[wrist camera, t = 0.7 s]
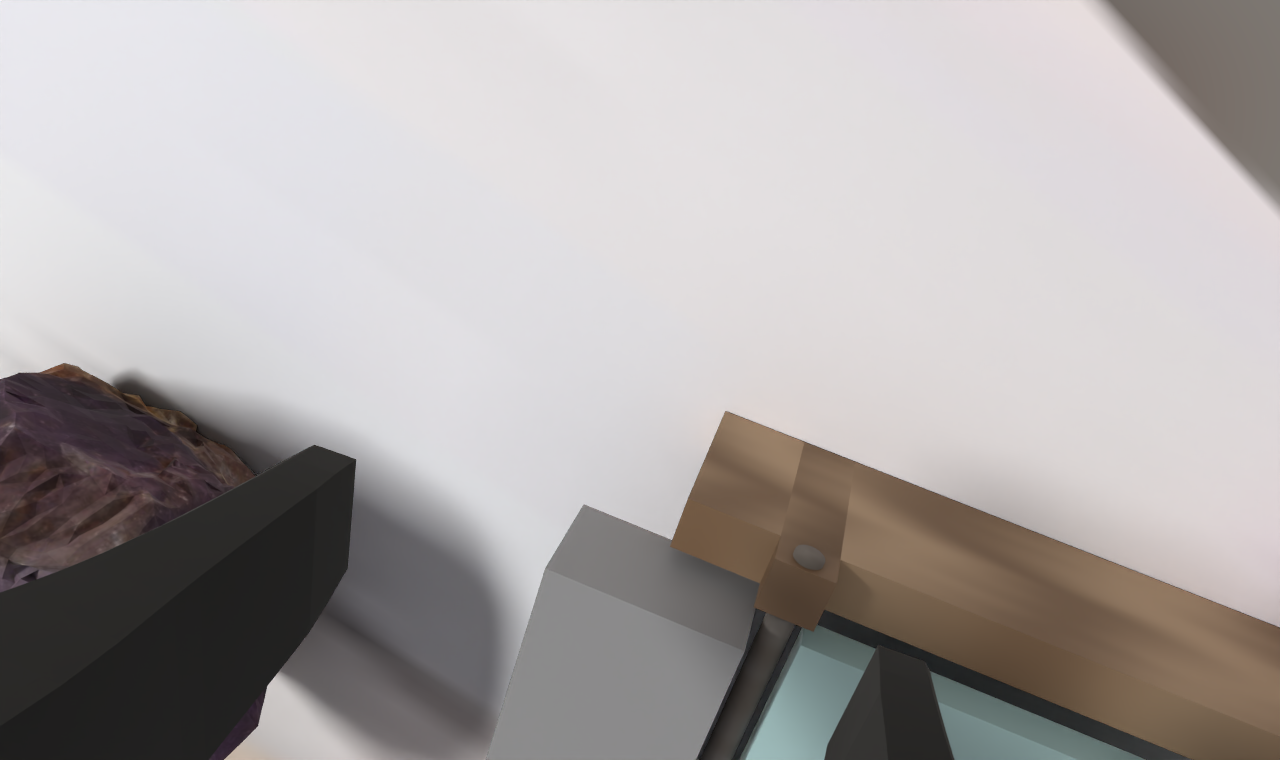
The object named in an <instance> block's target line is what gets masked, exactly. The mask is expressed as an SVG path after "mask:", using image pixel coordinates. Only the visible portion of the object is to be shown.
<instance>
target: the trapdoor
mask: <svg viewBox="0 0 1280 760" xmlns="http://www.w3.org/2000/svg"><path fill="white" fill-rule="evenodd" d="M671 542H672V540H670V539H667V538H665V537H663V536H660V535H658V534H655V533H653V532H650V531H648V530H645V529H643V528H640V527H638V526H636V525H633V524H631V523H628V522H626V521H623V520H621V519H618V518H616V517H613V516H611V515H609V514H606V513H604V512H601V511H599V510H596V509H594V508H591V507H589V506H586V505H583V507H582V508H581V510H580V512H579V513H578V515H577V517H576V518H575V520H574V522H573V523H572V525H571V527H570V528H569V530H568V532H567V533H566V535H565V537H564V538H563V540H562V542H561V543H560V545H559V547H558V548H557V550H556V551H555V553H554V555H553V556H552V558H551V560H550V561H549V563H548V565H547V566H546V568H545V571H544V574H543V578H542V581H541V584H540V587H539V590H538V594H537V597H536V600H535V603H534V606H533V610H532V613H531V616H530V619H529V622H528V626H527V629H526V632H525V635H524V638H523V642H522V645H521V648H520V651H519V654H518V658H517V661H516V664H515V667H514V671H513V674H512V677H511V680H510V683H509V687H508V690H507V693H506V696H505V699H504V703H503V706H502V709H501V712H500V715H499V719H498V722H497V725H496V728H495V731H494V735H493V738H492V741H491V744H490V747H489V751H488V754H487V757H486V760H696V759H697V756H698V754H699V752H700V750H701V747H702V745H703V743H704V741H705V739H706V736H707V734H708V732H709V730H710V727H711V725H712V723H713V721H714V719H715V716H716V714H717V712H718V710H719V707H720V705H721V703H722V701H723V699H724V696H725V694H726V692H727V690H728V687H729V685H730V683H731V681H732V678H733V676H734V674H735V672H736V670H737V667H738V665H739V663H740V661H741V658H742V656H743V654H744V652H745V648H746V644H747V641H748V637H749V633H750V629H751V625H752V621H753V618H754V614H755V610H756V608H754V604H755V600H756V596H757V593H758V589H759V585H760V583H758V582H755V581H753V580H751V579H748V578H746V577H743V576H741V575H738V574H736V573H733V572H731V571H728V570H726V569H724V568H721V567H719V566H716V565H714V564H711V563H709V562H706V561H704V560H701V559H699V558H697V557H694V556H692V555H689V554H687V553H684V552H682V551H679V550H677V549H675V548H672V547H670V545H671ZM875 650H876V649H875V648H872V647H870V646H868V645H865V644H863V643H860V642H858V641H855V640H853V639H851V638H848V637H846V636H843V635H841V634H838V633H836V632H833V631H831V630H829V629H826V628H824V627H821V626H819V625H817V626H816V628H815V630H814V632H812V631H810V630H807V629H805V628H803V627H802V629H801V631H800V633H799V635H798V637H797V639H796V641H795V644H794V646H793V648H792V650H791V652H790V654H789V656H788V658H787V660H786V662H785V664H784V667H783V669H782V671H781V673H780V675H779V677H778V679H777V681H776V683H775V685H774V688H773V690H772V692H771V694H770V696H769V698H768V700H767V702H766V704H765V706H764V708H763V711H762V713H761V715H760V717H759V719H758V721H757V723H756V725H755V727H754V729H753V732H752V734H751V736H750V738H749V740H748V742H747V744H746V746H745V748H744V750H743V752H742V755H741V757H740V759H739V760H824V758H825V754H826V749H827V744H828V742H829V741H830V739H831V737H832V735H833V733H834V731H835V729H836V727H837V725H838V723H839V721H840V719H841V717H842V715H843V713H844V711H845V709H846V707H847V705H848V703H849V701H850V699H851V697H852V695H853V693H854V691H855V689H856V687H857V685H858V683H859V681H860V679H861V678H862V676H863V674H864V672H865V670H866V668H867V666H868V664H869V662H870V660H871V658H872V656H873V654H874V652H875ZM930 673H931V677H932V681H933V685H934V689H935V693H936V697H937V701H938V704H939V708H940V712H941V715H942V719H943V722H944V726H945V729H946V733H947V736H948V740H949V743H950V746H951V750H952V753H953V756H954V760H1146V759H1143V758H1141V757H1138V756H1136V755H1134V754H1131V753H1129V752H1126V751H1124V750H1121V749H1119V748H1116V747H1114V746H1112V745H1109V744H1107V743H1104V742H1102V741H1099V740H1097V739H1095V738H1092V737H1090V736H1087V735H1085V734H1082V733H1080V732H1077V731H1075V730H1073V729H1070V728H1068V727H1065V726H1063V725H1060V724H1058V723H1055V722H1053V721H1051V720H1048V719H1046V718H1043V717H1041V716H1038V715H1036V714H1034V713H1031V712H1029V711H1026V710H1024V709H1021V708H1019V707H1016V706H1014V705H1012V704H1009V703H1007V702H1004V701H1002V700H999V699H997V698H994V697H992V696H990V695H987V694H985V693H982V692H980V691H977V690H975V689H973V688H970V687H968V686H965V685H963V684H960V683H958V682H955V681H953V680H951V679H948V678H946V677H943V676H941V675H938V674H936V673H933V672H931V671H930Z"/></svg>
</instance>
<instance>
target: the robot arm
mask: <svg viewBox="0 0 1280 760" xmlns="http://www.w3.org/2000/svg"><path fill="white" fill-rule="evenodd" d="M355 467H356V459H353V458H350V457H348V456H345V455H342V454H339V453H336V452H333V451H331V450H328V449H325V448H322V447H319V446H317V445H313V446H311V447H309V448H307V449H305V450H303V451H301V452H299V453H298V454H296V455H294V456H292V457H290V458H288V459H286V460H284V461H283V462H281V463H279V464H277V465H275V466H273V467H272V468H270V469H268V470H266V471H264V472H263V473H261V474H259V475H257V476H255V477H253V478H252V479H250V480H248V481H246V482H244V483H242V484H240V485H239V486H237V487H235V488H233V489H231V490H229V491H227V492H226V493H224V494H222V495H220V496H218V497H216V498H214V499H212V500H210V501H208V502H206V503H204V504H203V505H201V506H199V507H197V508H195V509H193V510H191V511H189V512H187V513H185V514H183V515H181V516H179V517H177V518H175V519H173V520H171V521H169V522H167V523H165V524H163V525H161V526H159V527H157V528H155V529H153V530H151V531H149V532H146V533H144V534H142V535H140V536H138V537H136V538H133V539H131V540H129V541H127V542H125V543H122V544H120V545H118V546H116V547H114V548H112V549H109V550H107V551H105V552H103V553H101V554H98V555H96V556H94V557H91V558H89V559H87V560H84V561H82V562H80V563H77V564H75V565H72V566H70V567H67V568H65V569H62V570H60V571H57V572H55V573H52V574H49V575H47V576H44V577H41V578H39V579H36V580H33V581H31V582H28V583H25V584H23V585H20V586H17V587H14V588H11V589H9V590H6V591H3V592H0V760H209V759H210V757H211V756H212V755H213V754H214V752H215V751H216V750H217V748H218V747H219V746H220V745H221V743H222V742H223V741H224V740H225V738H226V737H227V736H228V735H229V733H230V732H231V731H232V730H233V728H234V727H235V726H236V725H237V723H238V722H239V721H240V719H241V718H242V717H243V716H244V714H245V713H246V712H247V711H248V709H249V708H250V707H251V706H252V704H253V703H254V702H255V701H256V699H257V698H258V697H259V696H260V694H261V693H262V692H263V691H264V689H265V688H266V687H267V686H268V684H269V683H270V682H271V680H272V679H273V678H274V677H275V675H276V674H277V673H278V672H279V670H280V669H281V668H282V666H283V665H284V664H285V663H286V661H287V660H288V659H289V657H290V656H291V655H292V654H293V652H294V651H295V650H296V649H297V647H298V646H299V645H300V643H301V642H302V641H303V639H304V638H305V637H306V636H307V634H308V633H309V632H310V630H311V628H312V627H313V625H314V624H315V622H316V620H317V619H318V617H319V615H320V614H321V612H322V611H323V609H324V607H325V606H326V604H327V603H328V601H329V599H330V597H331V596H332V594H333V592H334V591H335V589H336V587H337V586H338V584H339V582H340V580H341V579H342V577H343V575H344V574H345V572H346V570H347V568H348V555H349V543H350V530H351V517H352V505H353V492H354V479H355ZM824 760H954V756H953V753H952V750H951V746H950V743H949V740H948V736H947V733H946V729H945V726H944V722H943V719H942V715H941V712H940V708H939V704H938V701H937V697H936V693H935V689H934V685H933V681H932V677H931V673H930V670H929V668H928V666H927V664H926V662H925V661H922V660H920V659H917V658H914V657H911V656H908V655H905V654H903V653H900V652H897V651H894V650H891V649H889V648H886V647H883V646H880V645H878V646H877V648H876V650H875V652H874V654H873V656H872V658H871V660H870V662H869V664H868V666H867V668H866V670H865V672H864V674H863V676H862V678H861V679H860V681H859V683H858V685H857V687H856V689H855V691H854V693H853V695H852V697H851V699H850V701H849V703H848V705H847V707H846V709H845V711H844V713H843V715H842V717H841V719H840V721H839V723H838V725H837V727H836V729H835V731H834V733H833V735H832V737H831V739H830V741H829V742H828V744H827V749H826V754H825V758H824Z"/></svg>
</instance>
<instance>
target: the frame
mask: <svg viewBox="0 0 1280 760" xmlns="http://www.w3.org/2000/svg"><path fill="white" fill-rule="evenodd" d="M670 547H672V548H675V549H677V550H679V551H682V552H684V553H687V554H689V555H692V556H694V557H697V558H699V559H701V560H704V561H706V562H709V563H711V564H714V565H716V566H719V567H721V568H724V569H726V570H728V571H731V572H733V573H736V574H738V575H741V576H743V577H746V578H748V579H751V580H753V581H755V582H758V583H760V585H759V589H758V593H757V596H756V600H755V604H754V608H756V609H759V610H761V611H764V612H766V614H765V616H764V619H763V621H762V623H761V625H760V627H759V630H758V632H757V634H756V636H755V638H754V641H753V643H752V645H751V647H750V650H749V652H748V654H747V656H746V658H745V661H744V663H743V665H742V667H741V669H740V672H739V674H738V676H737V678H736V681H735V683H734V685H733V687H732V689H731V692H730V694H729V696H728V698H727V700H726V703H725V705H724V707H723V709H722V712H721V714H720V716H719V718H718V720H717V723H716V725H715V727H714V729H713V731H712V734H711V736H710V738H709V740H708V743H707V745H706V747H705V749H704V751H703V754H702V756H701V758H700V760H732V758H733V756H734V754H735V752H736V750H737V748H738V746H739V743H740V741H741V739H742V737H743V735H744V733H745V731H746V729H747V727H748V724H749V722H750V720H751V718H752V716H753V714H754V712H755V710H756V707H757V705H758V703H759V701H760V699H761V697H762V695H763V693H764V691H765V688H766V686H767V684H768V682H769V680H770V678H771V676H772V674H773V671H774V669H775V667H776V665H777V663H778V661H779V659H780V657H781V655H782V652H783V650H784V648H785V646H786V644H787V642H788V640H789V638H790V636H791V633H792V631H793V629H794V627H795V625H798V626H800V627H803V628H805V629H807V630H810V631H812V632H814V630H815V628H816V626H817V624H818V622H819V620H820V617H821V615H822V613H823V611H824V610H827V611H829V612H831V613H834V614H836V615H839V616H841V617H844V618H846V619H849V620H851V621H853V622H856V623H858V624H861V625H863V626H866V627H868V628H871V629H873V630H876V631H878V632H880V633H883V634H885V635H888V636H890V637H893V638H895V639H898V640H900V641H903V642H905V643H907V644H910V645H912V646H915V647H917V648H920V649H922V650H925V651H927V652H929V653H932V654H934V655H937V656H939V657H942V658H944V659H947V660H949V661H952V662H954V663H956V664H959V665H961V666H964V667H966V668H969V669H971V670H974V671H976V672H979V673H981V674H983V675H986V676H988V677H991V678H993V679H996V680H998V681H1001V682H1003V683H1005V684H1008V685H1010V686H1013V687H1015V688H1018V689H1020V690H1023V691H1025V692H1028V693H1030V694H1032V695H1035V696H1037V697H1040V698H1042V699H1045V700H1047V701H1050V702H1052V703H1055V704H1057V705H1059V706H1062V707H1064V708H1067V709H1069V710H1072V711H1074V712H1077V713H1079V714H1081V715H1084V716H1086V717H1089V718H1091V719H1094V720H1096V721H1099V722H1101V723H1104V724H1106V725H1108V726H1111V727H1113V728H1116V729H1118V730H1121V731H1123V732H1126V733H1128V734H1131V735H1133V736H1135V737H1138V738H1140V739H1143V740H1145V741H1148V742H1150V743H1153V744H1155V745H1157V746H1160V747H1162V748H1165V749H1167V750H1170V751H1172V752H1175V753H1177V754H1180V755H1182V756H1184V757H1187V758H1189V759H1192V760H1280V628H1279V627H1276V626H1274V625H1271V624H1269V623H1266V622H1264V621H1261V620H1258V619H1256V618H1253V617H1251V616H1248V615H1246V614H1243V613H1240V612H1238V611H1235V610H1233V609H1230V608H1228V607H1225V606H1223V605H1220V604H1217V603H1215V602H1212V601H1210V600H1207V599H1205V598H1202V597H1200V596H1197V595H1194V594H1192V593H1189V592H1187V591H1184V590H1182V589H1179V588H1177V587H1174V586H1171V585H1169V584H1166V583H1164V582H1161V581H1159V580H1156V579H1154V578H1151V577H1148V576H1146V575H1143V574H1141V573H1138V572H1136V571H1133V570H1131V569H1128V568H1125V567H1123V566H1120V565H1118V564H1115V563H1113V562H1110V561H1107V560H1105V559H1102V558H1100V557H1097V556H1095V555H1092V554H1090V553H1087V552H1084V551H1082V550H1079V549H1077V548H1074V547H1072V546H1069V545H1067V544H1064V543H1061V542H1059V541H1056V540H1054V539H1051V538H1049V537H1046V536H1044V535H1041V534H1038V533H1036V532H1033V531H1031V530H1028V529H1026V528H1023V527H1021V526H1018V525H1015V524H1013V523H1010V522H1008V521H1005V520H1003V519H1000V518H997V517H995V516H992V515H990V514H987V513H985V512H982V511H980V510H977V509H974V508H972V507H969V506H967V505H964V504H962V503H959V502H957V501H954V500H951V499H949V498H946V497H944V496H941V495H939V494H936V493H934V492H931V491H928V490H926V489H923V488H921V487H918V486H916V485H913V484H911V483H908V482H905V481H903V480H900V479H898V478H895V477H893V476H890V475H887V474H885V473H882V472H880V471H877V470H875V469H872V468H870V467H867V466H864V465H862V464H859V463H857V462H854V461H852V460H849V459H847V458H844V457H841V456H839V455H836V454H834V453H831V452H829V451H826V450H824V449H821V448H818V447H816V446H813V445H811V444H808V443H806V442H803V441H801V440H798V439H795V438H793V437H790V436H788V435H785V434H783V433H780V432H778V431H775V430H772V429H770V428H767V427H765V426H762V425H760V424H757V423H754V422H752V421H749V420H747V419H744V418H742V417H739V416H737V415H734V414H731V413H729V412H726V411H725V413H724V416H723V418H722V420H721V423H720V425H719V427H718V430H717V432H716V434H715V437H714V439H713V441H712V444H711V446H710V448H709V451H708V453H707V455H706V458H705V460H704V462H703V465H702V467H701V469H700V472H699V474H698V476H697V479H696V481H695V484H694V486H693V488H692V491H691V493H690V495H689V498H688V500H687V503H686V505H685V508H684V511H683V513H682V516H681V518H680V521H679V524H678V526H677V529H676V532H675V534H674V537H673V540H672V542H671V545H670Z"/></svg>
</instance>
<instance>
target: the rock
mask: <svg viewBox="0 0 1280 760" xmlns="http://www.w3.org/2000/svg"><path fill="white" fill-rule="evenodd" d="M196 429H197V425H196V424H195V423H194V422H193V421H192V420H190V419H189V418H188V417H187V416H186V415H184V414H183V413H182V412H181V411H174V410H166V409H158V408H155V407H150V406H145V404H144V402H143V401H142V399H141V398H140V396H139V395H133V394H126V393H122V392H121V391H119V390H118V389H116V388H114V387H113V386H111V385H109V384H108V383H106V382H104V381H102V380H100V379H98V378H96V377H95V376H93V375H91V374H89V373H87V372H85V371H83V370H81V369H80V368H79V367H77V366H73V365H70V364H66V363H63V364H61V365H58V366H55V367H53V368H50V369H48V370H45V371H43V372H40V373H18V374H15V375H13V376H10V377H7V378H3V379H0V592H3V591H6V590H9V589H11V588H14V587H17V586H20V585H23V584H25V583H28V582H31V581H33V580H36V579H39V578H41V577H44V576H47V575H49V574H52V573H55V572H57V571H60V570H62V569H65V568H67V567H70V566H72V565H75V564H77V563H80V562H82V561H84V560H87V559H89V558H91V557H94V556H96V555H98V554H101V553H103V552H105V551H107V550H109V549H112V548H114V547H116V546H118V545H120V544H122V543H125V542H127V541H129V540H131V539H133V538H136V537H138V536H140V535H142V534H144V533H146V532H149V531H151V530H153V529H155V528H157V527H159V526H161V525H163V524H165V523H167V522H169V521H171V520H173V519H175V518H177V517H179V516H181V515H183V514H185V513H187V512H189V511H191V510H193V509H195V508H197V507H199V506H201V505H203V504H204V503H206V502H208V501H210V500H212V499H214V498H216V497H218V496H220V495H222V494H224V493H226V492H227V491H229V490H231V489H233V488H235V487H237V486H239V485H240V484H242V483H244V482H246V481H248V480H250V479H252V478H253V477H255V475H254V474H253V473H252V472H251V471H250V469H249V468H248V467H247V466H246V465H245V464H244V463H243V462H242V461H241V460H240V459H239V458H238V456H237V455H236V454H235V453H234V452H233V451H232V450H231V449H230V448H229V447H227V446H225V445H221V444H218V443H216V442H214V441H211V440H209V439H206V438H205V437H203V436H202V435H200V434H199V433H197V432H196ZM266 689H267V687H266V688H265V689H264V691H263V692H262V693H261V694H260V696H259V697H258V698H257V699H256V701H255V702H254V703H253V704H252V706H251V707H250V708H249V709H248V711H247V712H246V713H245V714H244V716H243V717H242V718H241V719H240V721H239V722H238V723H237V725H236V726H235V727H234V728H233V730H232V731H231V732H230V733H229V735H228V736H227V737H226V738H225V740H224V741H223V742H222V743H221V745H220V746H219V747H218V748H217V750H216V751H215V752H214V754H213V755H212V756H211V757H210V759H209V760H224V759H225V758H226V757H227V756H228V755H229V754H230V753H231V752H232V751H233V750H234V749H235V748H236V747H237V746H239V745H240V744H241V743H242V742H243V741H244V740H245V739H246V738H247V737H248V736H249V735H250V734H251V733H252V732H253V731H254V730H255V729H256V727H257V726H258V723H259V719H260V715H261V710H262V706H263V703H264V698H265V693H266Z"/></svg>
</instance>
